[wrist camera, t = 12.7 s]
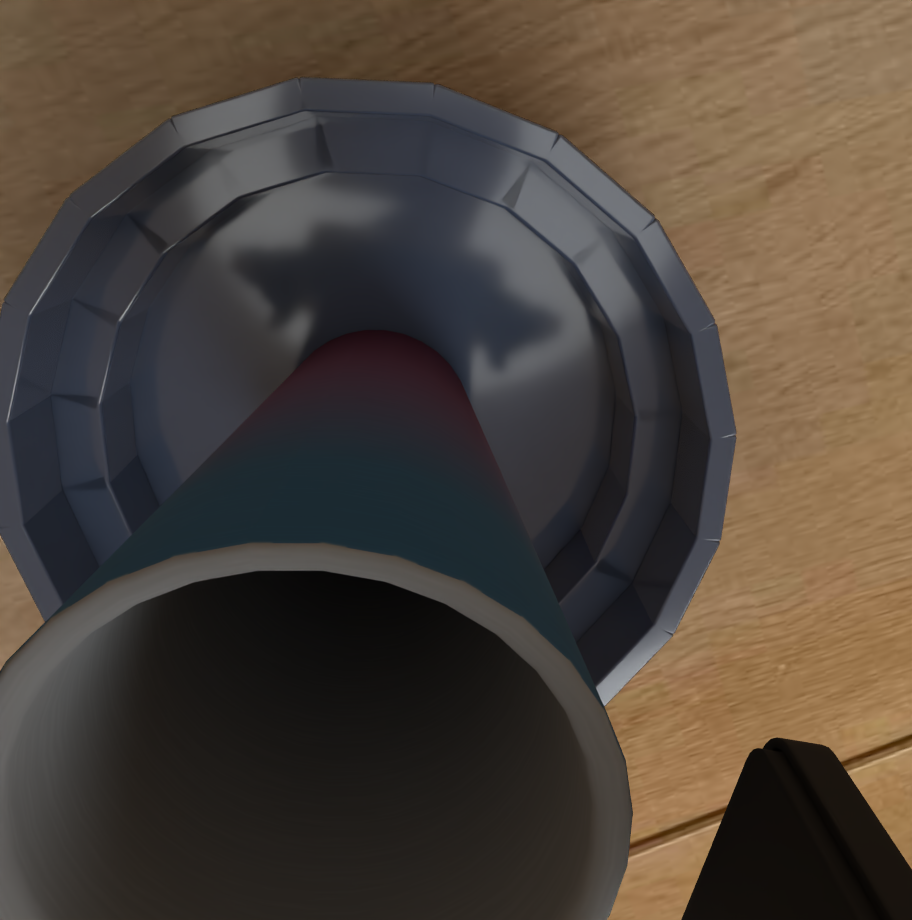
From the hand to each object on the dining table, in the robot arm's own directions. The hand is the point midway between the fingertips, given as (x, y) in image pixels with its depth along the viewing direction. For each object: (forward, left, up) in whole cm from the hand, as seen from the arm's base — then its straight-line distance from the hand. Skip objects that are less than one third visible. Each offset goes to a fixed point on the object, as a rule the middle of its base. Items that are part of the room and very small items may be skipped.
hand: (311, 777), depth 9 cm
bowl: (0, 0, -15) cm, 15 cm away
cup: (0, 0, -15) cm, 15 cm away
